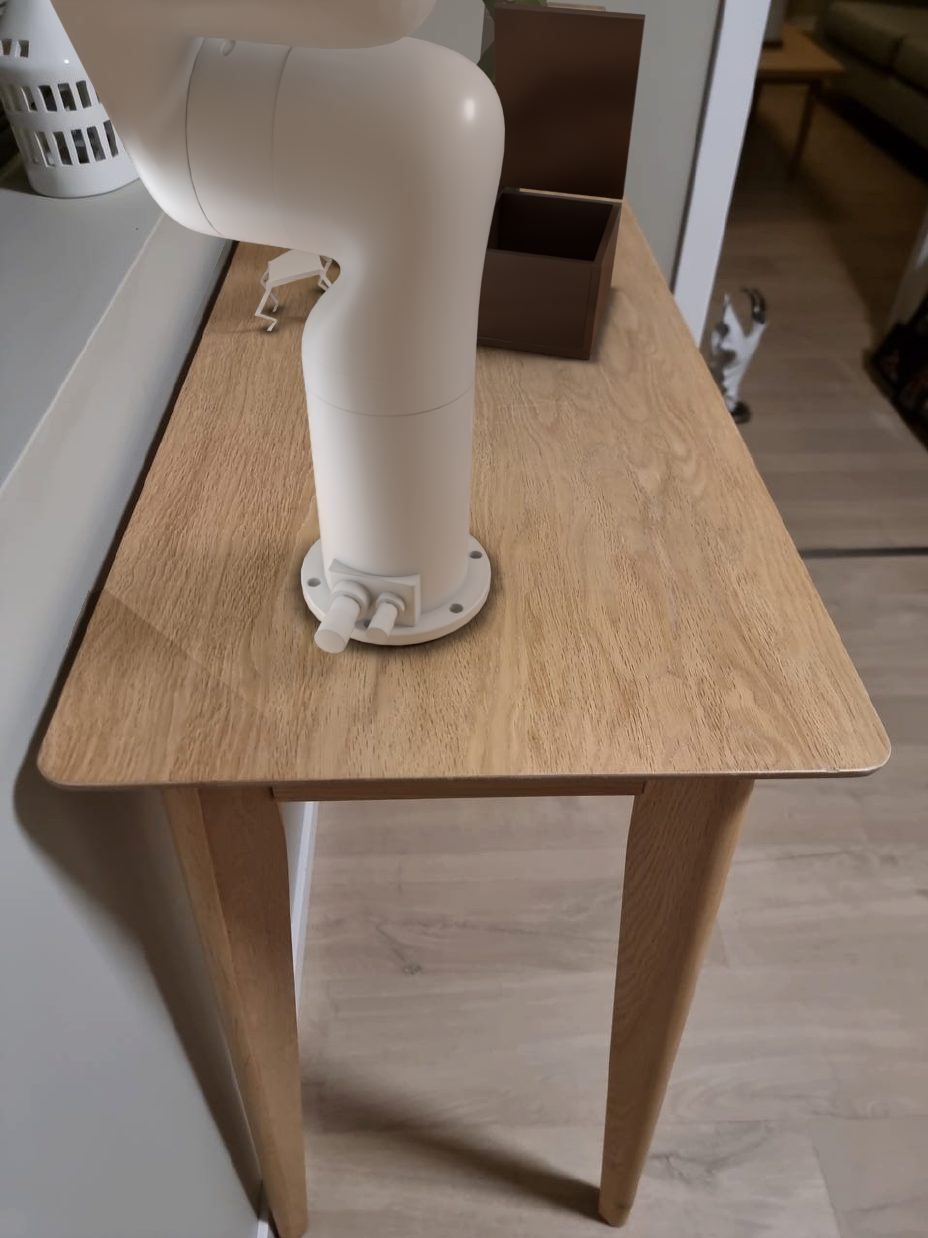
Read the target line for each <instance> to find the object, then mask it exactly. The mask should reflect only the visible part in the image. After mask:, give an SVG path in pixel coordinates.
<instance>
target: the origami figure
mask: <svg viewBox="0 0 928 1238" xmlns="http://www.w3.org/2000/svg"><path fill="white" fill-rule="evenodd" d="M321 259H323V260H324V261H326V262H325V265H324V266H323V264H322V261H321ZM332 263H333V259H332V258H329V257H327V256H322V255H317V254H312V253H307V252H304V251H302V250H296V249H290V250H288V251H286V252H284V253H283V254H280V255H279V256H277V257H276V258H274V259H272V260H269V261H267V268H266V270H265V272H264V273H263V275H262V277H261V278H260V280H259V282H260V284H261V285H262V287H263V288H264V290H265V292H264V294H263V296H262V298H261V301H260V302H259V305H258V306H257V309H256V311H255V313H254V316H255V317H257V318H261V319H264V320H267V321H270V322H271V324H270V325H269V326H268V328H267V330H266V331H267V332H271V331H272V330H273V328H274V327H275V325H276V324H277V322H278V319H277V318H274V317H271V316H269V315H266V314H264V313H262V311H263V309H264V307H265V305H266V303H267V301H268V299H269V296H270V298H271V299H272V300H273V302H274V303H275V305H274V307H273V309H272V312H277V308H278V306H279V304H280V301H279V299H278V298H277V295H275V293H274V291H273V290H272V289H273V288H275V287H280V286H282V285H286V284H289V283H292V282H295V281H299V280H303V279H307V278H311V277H314V276H318V275H319V279H318V280H317V286H318V287H320V288H321V289H323V291H325V292H326V290H327V289H328V288H329V287H330V286H331V285H332V284H333V283H332V282H331V281H330V280H329V278H328V277H327V272H328V270H329V268H330V266H331V264H332ZM267 277H268V280H266V278H267ZM322 281H324V283H325V284H326V285H325V284H323V283H322Z"/></svg>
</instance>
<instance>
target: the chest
mask: <svg viewBox="0 0 928 1238" xmlns="http://www.w3.org/2000/svg"><path fill="white" fill-rule="evenodd" d="M622 208H623V202H619V201H611V200H602V199H595V198H593V199H592V198H586V197H575V196H567V195H560V194H559V195H558V194H550V193H540V192H532V191H523V190H520V191H514V190H505V189H504V190H503V189H498V191H497V196H496V201H495V206H494V211H493V216H492V221H491V226H490V231H489V236H488V242H487V247H486V252H485V259H484V266H483V273H482V280H481V289H480V299H479V309H478V326H477V342H476V345H479V346H480V345H481V346H487V347H494V348H503V349H509V350H517V351H524V352H531V353H538V354H545V355H551V356H559V357H566V358H572V359H580V360H587V361H589V360H590V359H591V356H592V353H593V349H594V347H595V342H596V339H597V336H598V332H599V330H600V325H601V323H602V319H603V315H604V311H605V309H606V305H607V301H608V298H609V295H610V291H611V287H612V279H613V272H614V266H615V259H616V250H617V245H618V236H619V230H620V224H621V223H620V222H621V216H622V210H623V209H622Z"/></svg>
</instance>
